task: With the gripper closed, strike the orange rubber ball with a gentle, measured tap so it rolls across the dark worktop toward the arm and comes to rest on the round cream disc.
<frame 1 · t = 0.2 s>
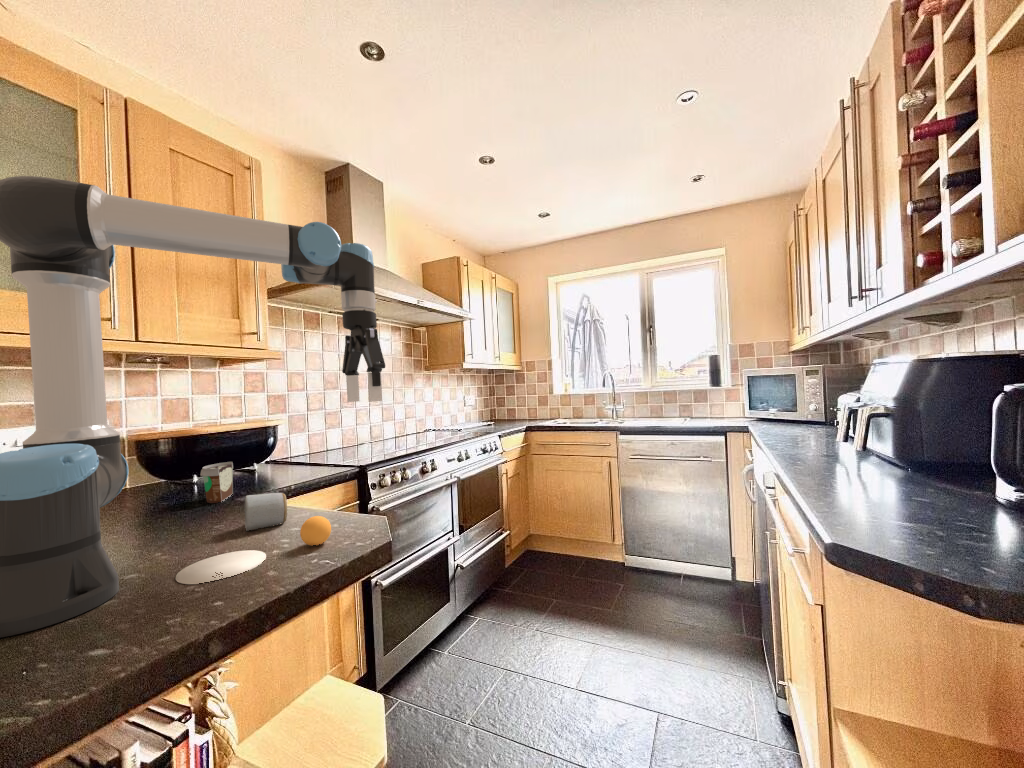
hand: (364, 401, 98), 27 cm above the countertop, tool pointing down, fingers open, 13 cm apart
ball: (315, 530, 81), on the countertop
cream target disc: (223, 566, 73), on the countertop
ceramic mug: (264, 526, 95), on the countertop
food container: (215, 500, 121), on the countertop
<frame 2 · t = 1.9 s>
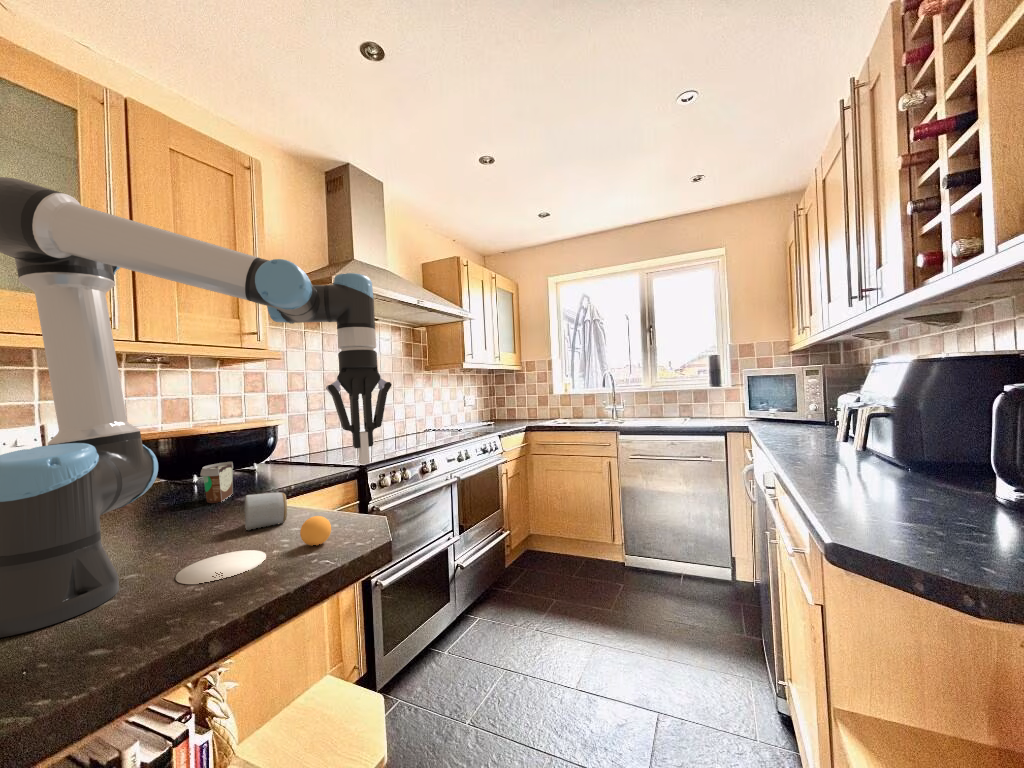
hand: (364, 463, 86), 15 cm above the countertop, tool pointing down, fingers closed
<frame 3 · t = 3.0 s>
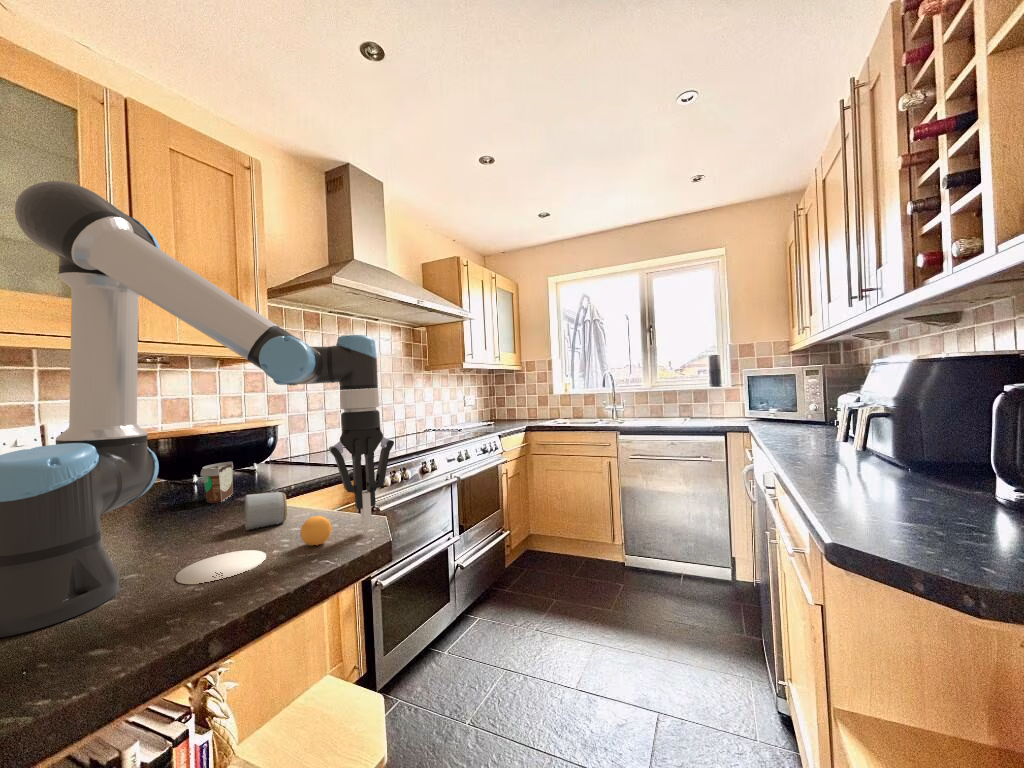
hand: (366, 523, 86), 2 cm above the countertop, tool pointing down, fingers closed
nothing on the countertop moved.
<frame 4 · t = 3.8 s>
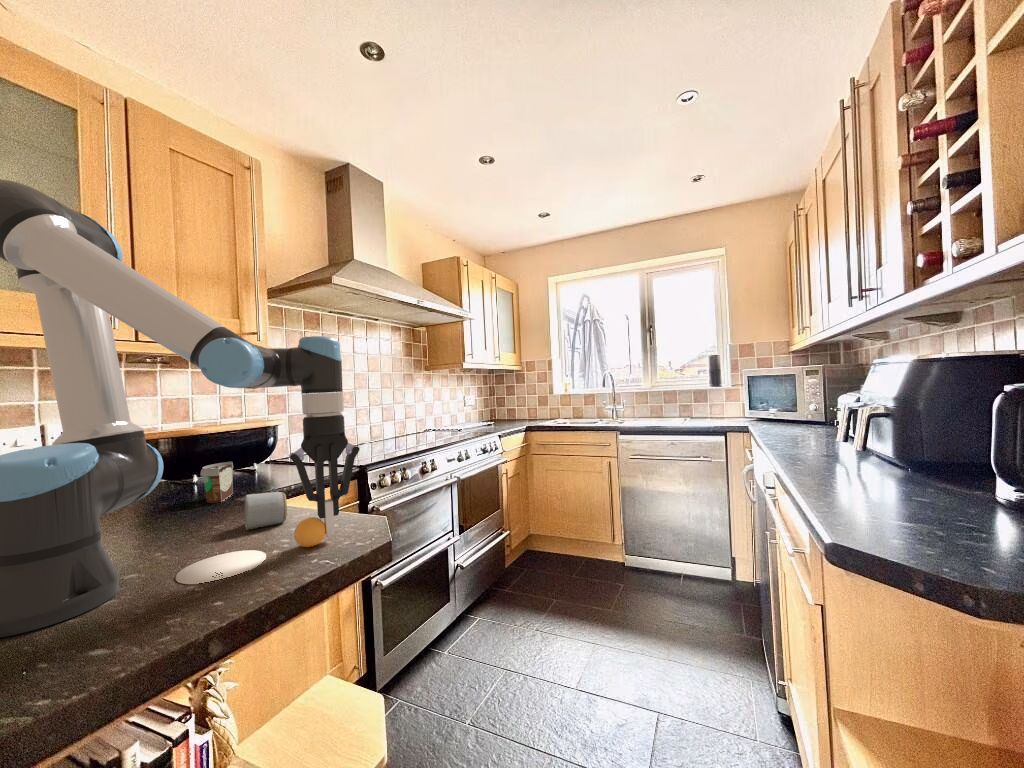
hand: (329, 532, 82), 2 cm above the countertop, tool pointing down, fingers closed
ball: (310, 531, 80), on the countertop, touching gripper
everything else where it was.
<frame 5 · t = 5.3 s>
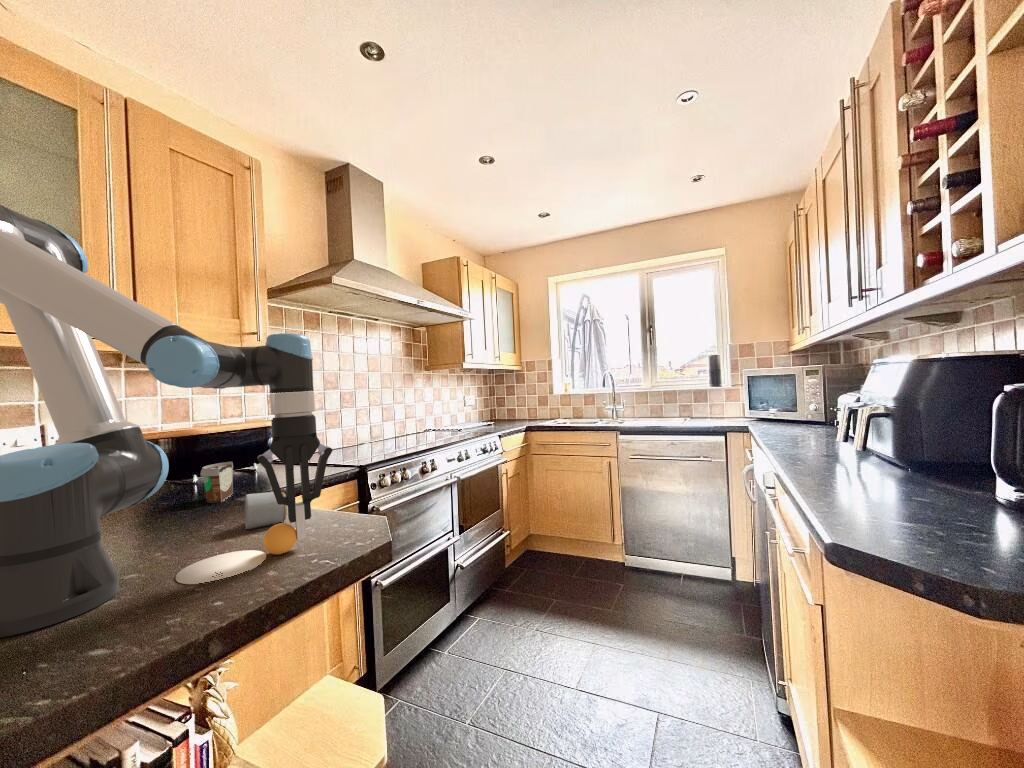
hand: (301, 537, 79), 2 cm above the countertop, tool pointing down, fingers closed
ball: (280, 538, 77), on the countertop, touching gripper
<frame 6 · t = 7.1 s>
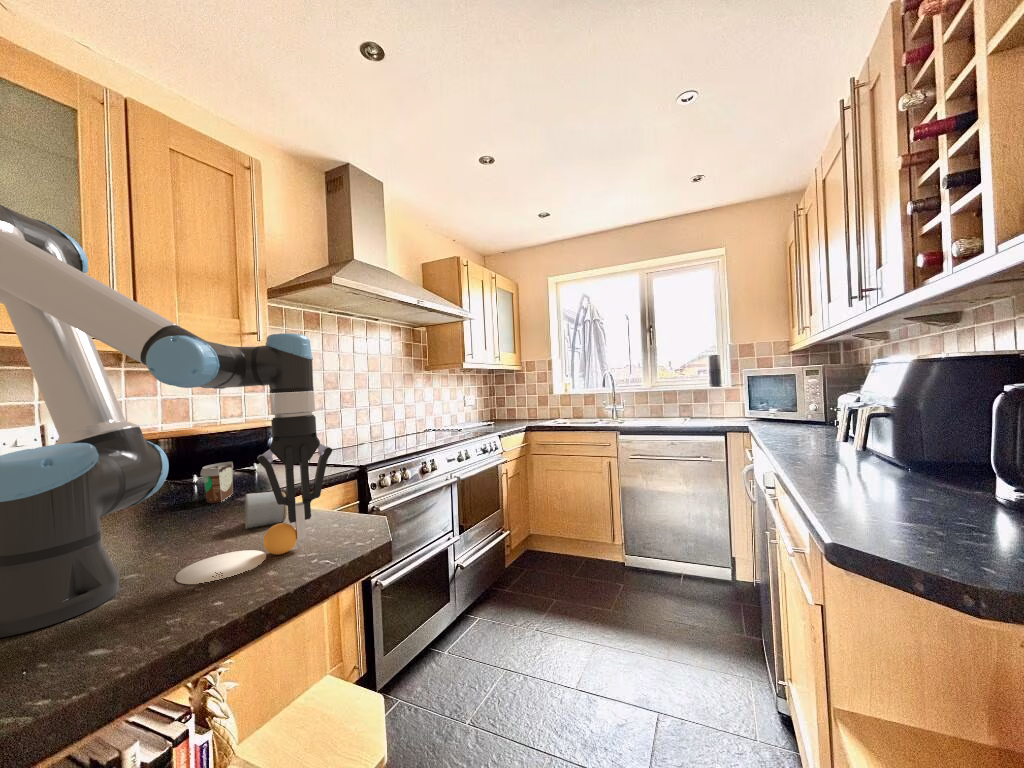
hand: (300, 537, 79), 2 cm above the countertop, tool pointing down, fingers closed
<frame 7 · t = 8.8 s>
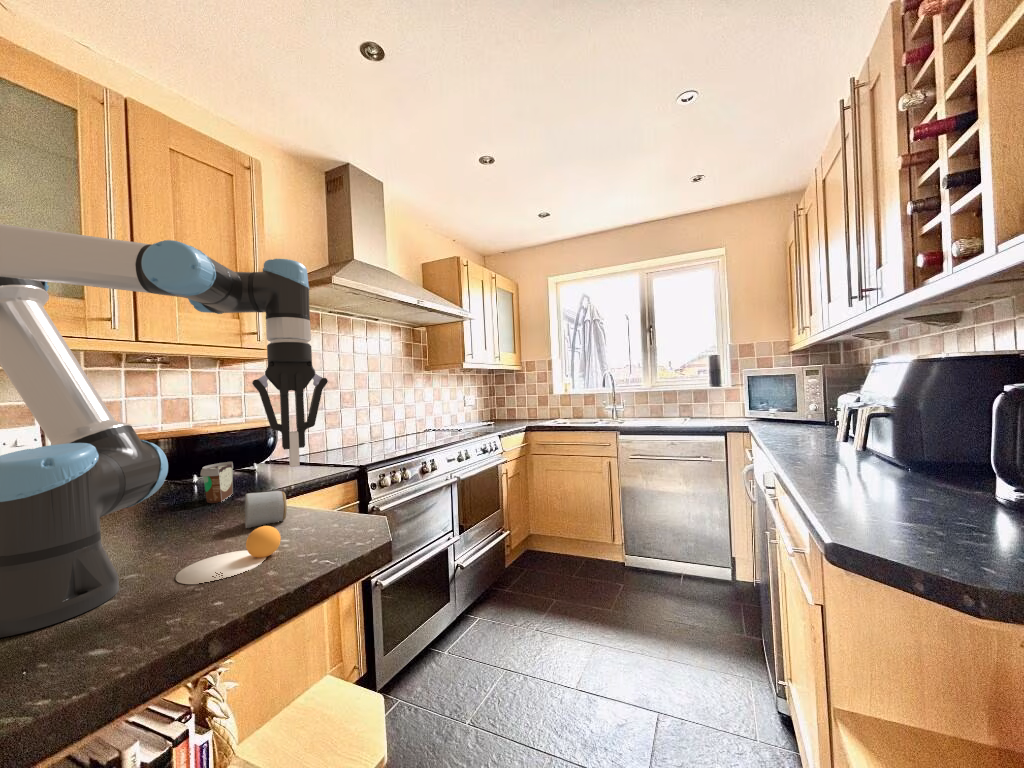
hand: (294, 465, 79), 16 cm above the countertop, tool pointing down, fingers closed
ball: (263, 541, 76), on the countertop
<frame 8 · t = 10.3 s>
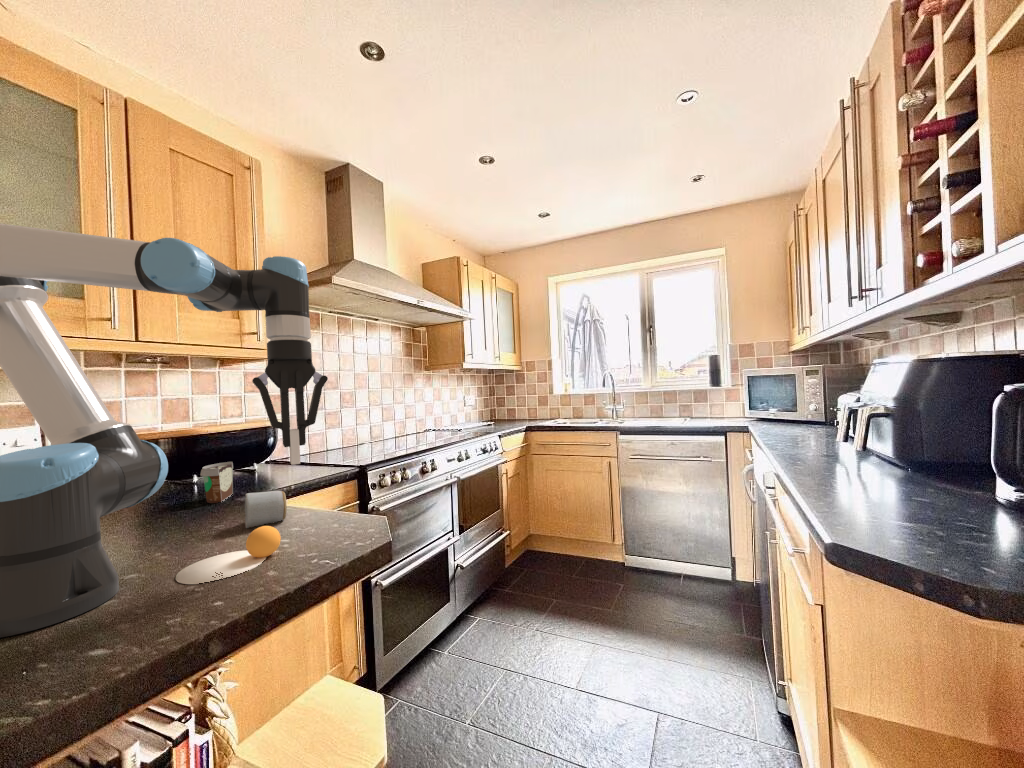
hand: (295, 463, 79), 16 cm above the countertop, tool pointing down, fingers closed
at the end: ball 6.2 cm from the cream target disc (horizontally); ball at rest at the end (0.0 cm/s); ball moved 8.8 cm from its start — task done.
